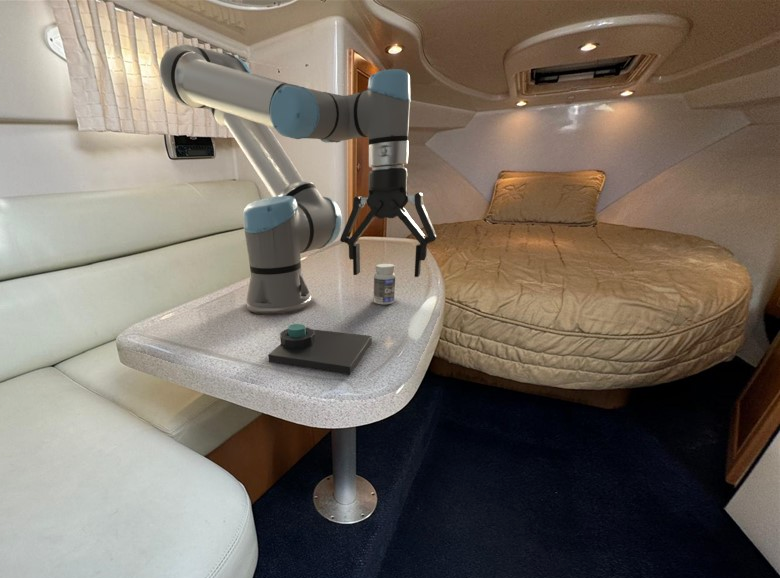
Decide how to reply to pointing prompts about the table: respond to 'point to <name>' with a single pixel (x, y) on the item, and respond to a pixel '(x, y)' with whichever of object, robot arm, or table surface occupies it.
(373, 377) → the table surface
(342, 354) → the dark grey base board
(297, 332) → the power button
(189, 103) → the robot arm
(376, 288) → the pill bottle
